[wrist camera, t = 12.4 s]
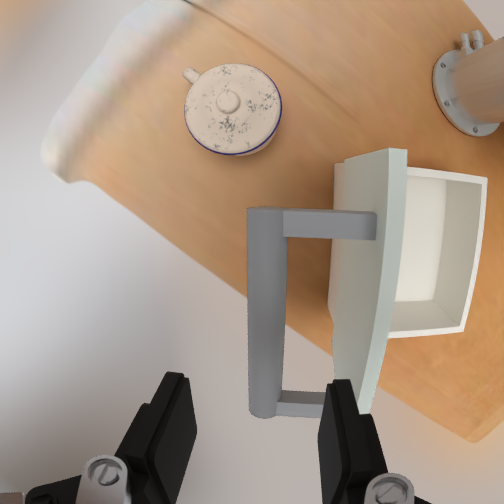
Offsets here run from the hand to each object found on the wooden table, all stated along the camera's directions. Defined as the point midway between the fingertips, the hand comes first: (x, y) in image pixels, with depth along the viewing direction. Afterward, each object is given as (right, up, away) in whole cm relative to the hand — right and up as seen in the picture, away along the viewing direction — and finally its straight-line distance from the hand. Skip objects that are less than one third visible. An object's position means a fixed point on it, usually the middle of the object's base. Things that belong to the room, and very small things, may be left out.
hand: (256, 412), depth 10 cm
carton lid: (+8, +3, +11) cm, 14 cm away
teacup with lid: (-2, +22, +25) cm, 34 cm away
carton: (+18, +7, +27) cm, 33 cm away
